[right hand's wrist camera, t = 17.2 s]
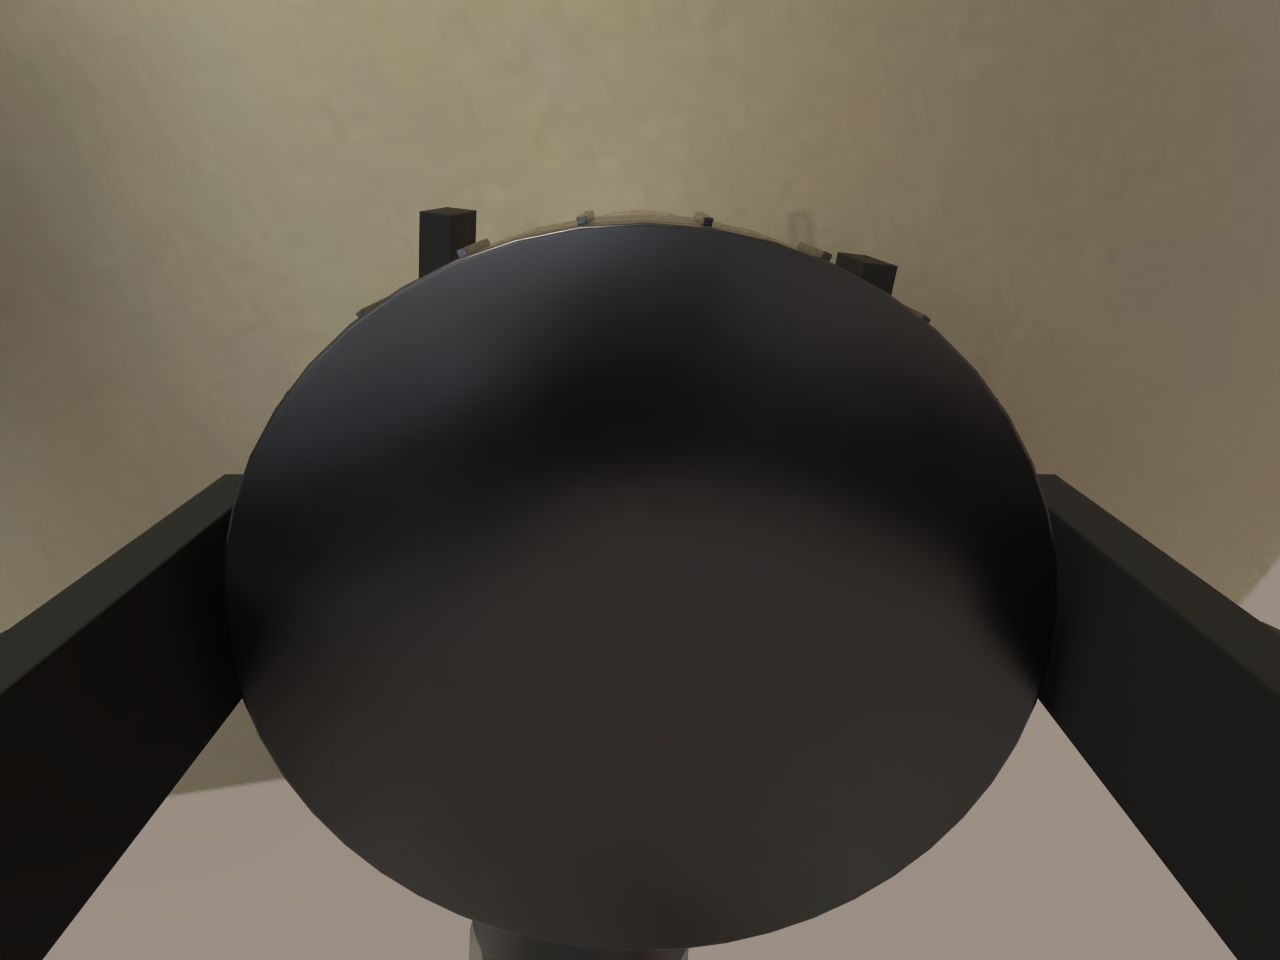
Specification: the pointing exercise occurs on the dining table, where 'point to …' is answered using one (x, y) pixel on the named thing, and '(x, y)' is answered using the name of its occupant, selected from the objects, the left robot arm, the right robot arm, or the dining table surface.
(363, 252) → the dining table surface
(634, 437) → the lid
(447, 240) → the left robot arm
